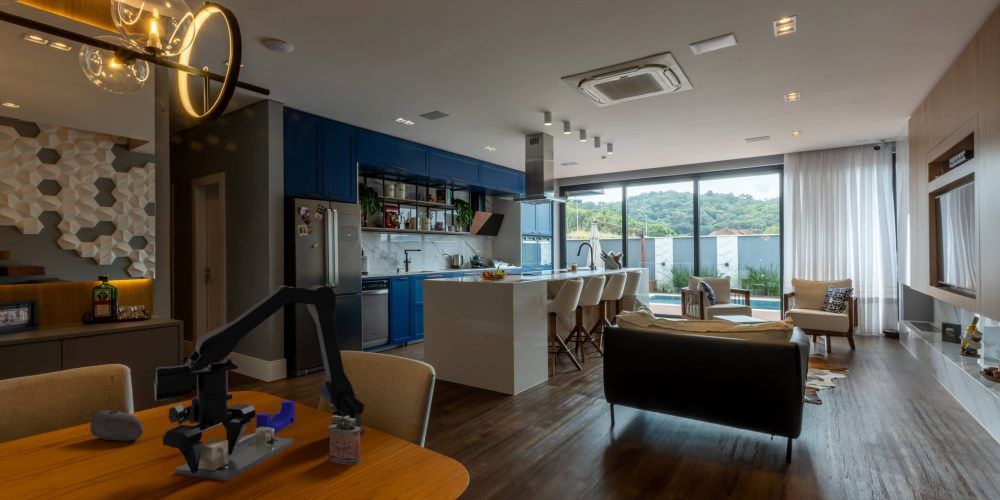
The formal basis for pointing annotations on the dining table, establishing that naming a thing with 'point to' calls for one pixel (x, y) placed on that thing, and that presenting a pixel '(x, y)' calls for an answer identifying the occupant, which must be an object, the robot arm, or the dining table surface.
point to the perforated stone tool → (116, 426)
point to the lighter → (344, 440)
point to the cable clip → (278, 417)
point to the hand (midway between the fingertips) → (213, 463)
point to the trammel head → (213, 454)
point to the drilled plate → (244, 455)
